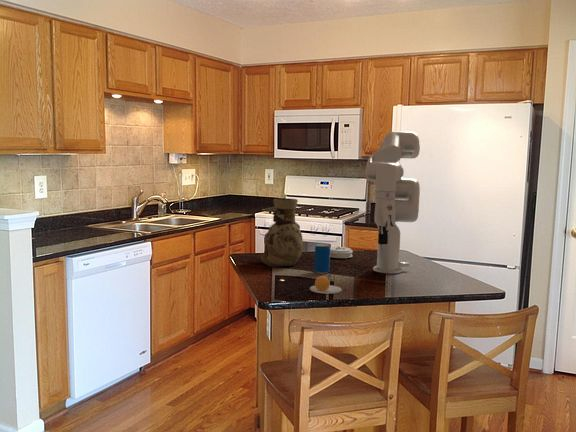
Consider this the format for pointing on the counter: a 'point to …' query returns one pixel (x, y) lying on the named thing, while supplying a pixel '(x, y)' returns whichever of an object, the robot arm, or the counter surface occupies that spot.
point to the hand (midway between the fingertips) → (382, 243)
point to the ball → (322, 283)
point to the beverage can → (322, 258)
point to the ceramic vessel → (283, 236)
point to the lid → (340, 252)
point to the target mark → (329, 291)
